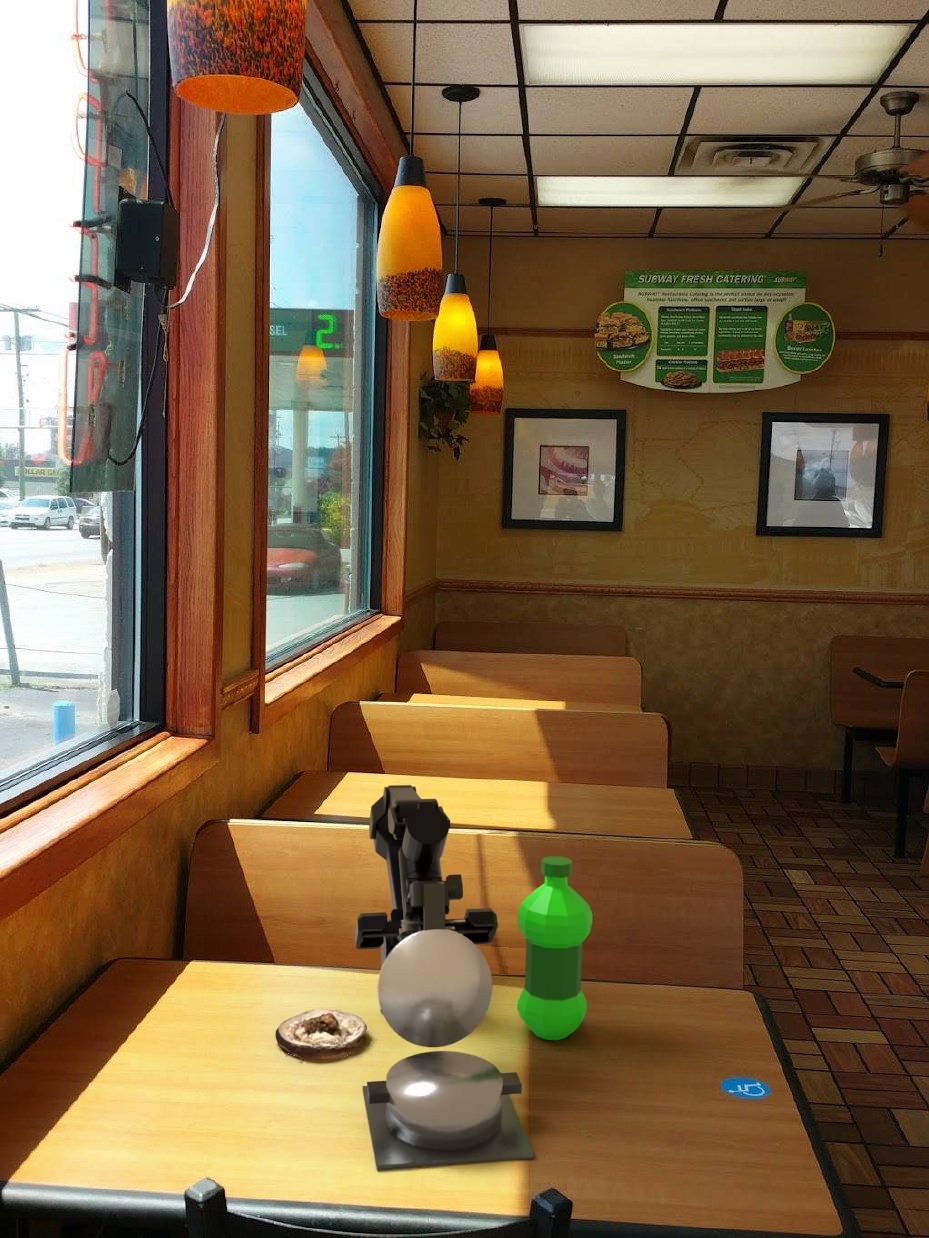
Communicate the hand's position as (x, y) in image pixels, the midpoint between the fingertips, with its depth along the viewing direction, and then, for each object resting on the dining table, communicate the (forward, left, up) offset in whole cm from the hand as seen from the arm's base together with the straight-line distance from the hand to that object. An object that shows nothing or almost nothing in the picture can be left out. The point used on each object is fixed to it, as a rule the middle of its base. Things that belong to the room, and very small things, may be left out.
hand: (431, 990), depth 149 cm
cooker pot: (+8, +8, -12) cm, 16 cm away
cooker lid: (+2, +2, +4) cm, 5 cm away
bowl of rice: (+1, -18, -12) cm, 22 cm away
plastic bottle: (-21, +6, -12) cm, 25 cm away
